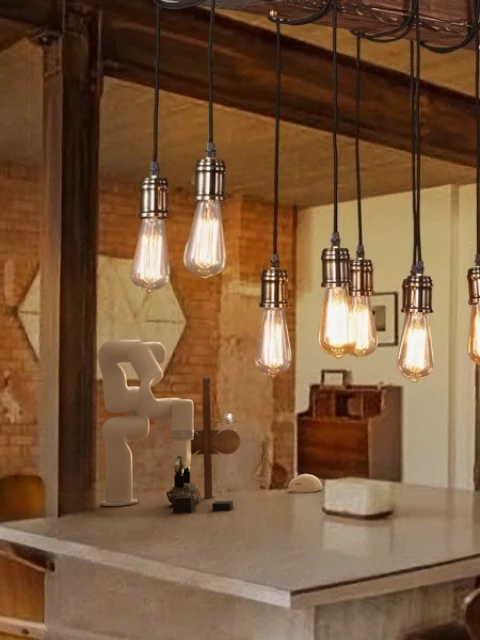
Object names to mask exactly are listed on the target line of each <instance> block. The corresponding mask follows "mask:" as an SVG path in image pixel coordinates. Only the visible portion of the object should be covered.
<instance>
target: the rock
mask: <svg viewBox="0 0 480 640" xmlns="http://www.w3.org/2000/svg"><path fill="white" fill-rule="evenodd" d="M177 496H195V503H196V502H198V501H200V500H201V498H202V497H201V492H200V490H199V489H198V487H197V485H196V484H195V483H193V482H192V481H190V483H184V487H183V488H175V487H174V486H173V487H171V488H170V490H168V491H166V497H167V500H168V502H169V503H170V504H171V505H172V506H174V498H175V497H177Z"/></svg>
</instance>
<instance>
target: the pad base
mask: <svg viewBox="0 0 480 640" xmlns="http://www.w3.org/2000/svg"><path fill="white" fill-rule="evenodd" d="M194 511H196V502H195V503H194V504H192V505H187V506H174V505H172V514H192V513H193V512H194Z"/></svg>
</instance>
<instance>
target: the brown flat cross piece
mask: <svg viewBox="0 0 480 640" xmlns="http://www.w3.org/2000/svg"><path fill="white" fill-rule="evenodd" d="M211 415H212V412H211V378H210V377H209V376H204V377H203V378H202V429H195V430H194V431H193V440H191V456H192V455H194V454H195V455H197V456H198V455H199V456H200V455H202V456H203V470H204V471H203V478H204V479H203V489H204V491H203V492H204V493H203V494H204V495H203V496H204V499H211V498H213V463H212V462H213V461H212V459H213V457H212V455H220V454H223V455H226V456H227V455H232V454H234V453H236V452H237V451H238V450H239V448H240V447H241V437H240V435H239V433H238V432H237V431H236V430H234V429H231V428H226V429H223V430H221V429H212V419H211V418H212V417H211Z"/></svg>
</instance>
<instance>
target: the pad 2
mask: <svg viewBox="0 0 480 640" xmlns="http://www.w3.org/2000/svg"><path fill="white" fill-rule="evenodd" d="M211 507H212V509H211V510H212V512H229V511H231V510H233V508H234V501H233V500H216V501H214V502H212V505H211Z"/></svg>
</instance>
